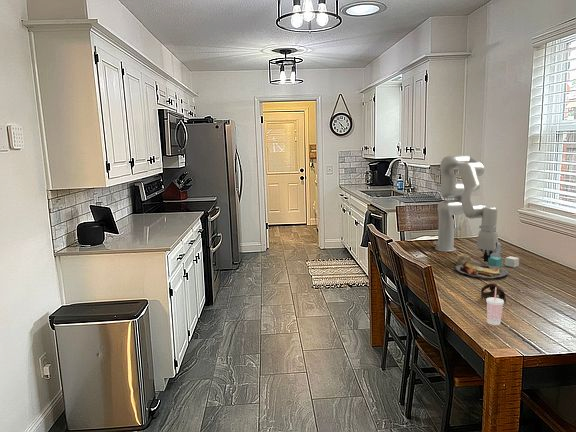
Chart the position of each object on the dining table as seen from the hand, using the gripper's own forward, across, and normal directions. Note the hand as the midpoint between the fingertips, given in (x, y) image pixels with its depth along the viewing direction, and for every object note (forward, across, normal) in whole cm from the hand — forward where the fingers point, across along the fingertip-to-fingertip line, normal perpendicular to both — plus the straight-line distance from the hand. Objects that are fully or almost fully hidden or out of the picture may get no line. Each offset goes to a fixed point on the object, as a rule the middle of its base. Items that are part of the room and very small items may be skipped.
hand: (486, 261), depth 242 cm
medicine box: (+2, -6, +16) cm, 17 cm away
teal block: (+2, +5, 0) cm, 5 cm away
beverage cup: (+2, +45, -72) cm, 85 cm away
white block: (+2, +10, +8) cm, 13 cm away
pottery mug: (+2, +32, -49) cm, 58 cm away
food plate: (+2, +7, -17) cm, 19 cm away
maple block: (+2, -9, -8) cm, 12 cm away
